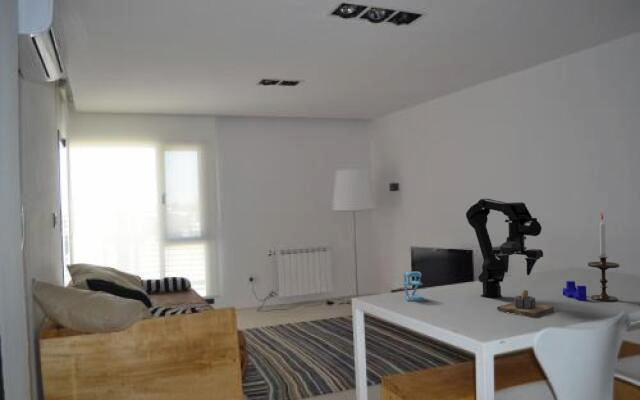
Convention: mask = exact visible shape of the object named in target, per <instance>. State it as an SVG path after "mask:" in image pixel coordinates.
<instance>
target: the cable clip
mask: <svg viewBox="0 0 640 400" xmlns="http://www.w3.org/2000/svg"><path fill="white" fill-rule="evenodd" d="M565 285H566V288H565V287H563V288H562V295H563V296H564V297H567V298H569V299H570V298H571V299H575V301H577V302H587V285H576V281H574V280H567V281H565Z"/></svg>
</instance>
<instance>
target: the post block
mask: <svg viewBox="0 0 640 400" xmlns="http://www.w3.org/2000/svg"><path fill="white" fill-rule="evenodd" d="M521 296H522V298H523V299H528V296H529V291H528V290H526V289H522V290H521ZM535 305H536V308H534V309H520V308H516V307H515V306H514V301H513V302H510V303H506V304H503V305H499V306H497V307H496V308H497V310H499V311H498V312H501V311H503V312H502V313H506V312H509V313H508V314H511V313H515V314H514V315H517V314H521V315H520V316H522V315H525V316H524V317H527V316H529V317H528V318H537V317H540V316H543V315H545V314H549V313H553V312H554V306H549V305H543V304H538V303H535Z"/></svg>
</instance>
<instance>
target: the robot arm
mask: <svg viewBox="0 0 640 400" xmlns="http://www.w3.org/2000/svg"><path fill="white" fill-rule="evenodd" d="M491 210H492V211H497V212H501V213H502V214H503V215H504V216H506V217H507V218H506V219H504V223H507V224H508V236H507V237H506V241H504V242H503V243H502V244H500V245H499V246H493V245H492V240H491V239H490V234H489V232H488V228H487V223H488V215H489V214H490V213H491ZM465 217H466V220H467V222H468V224H469V225H470V226H471V227H472V229H474V232H475V236H476V238H477V241H478V246H479V249H480V252H481V255H482V258H483V259H482V260H483V263H482V266H481V268H482V269H481V270H482V271H481V273H480V275H479V276H478V280H479V282H480V283H481V284H482V294H480V296H481V297H484V298H491V299H497V298H500V297H503V295H502V293H501V292H502V287H501V283H503V281H504V279H505V274H506V273H508V272H509V261H510V256H512V255H518V256H519V255H520V256H521V255H522V256H526V257H525V258H524V260H525V261H526V275H527V276H530V275H531V273H532V271H533V268H534V267H535V264H536V263H537V261H538V260H540V259H541V258H543V257H544V251H543V250H542V249H538V248H537V249H536V248H531V249H530V248H529V249H527V246H525V240H527V236H529V237H530V236H531V237H538V236H539V235H541V232H542V230H543V229H542V226H541V223H540V222H539V221H538V219H537V217H532V214H531V213H530V211H529V209H528V207H527V206H526V203H524V202H521V201H519V202H518V201H517V202H507V201H500V200H496V199H492V198H480V199H479V200H478V201H477V202H476V203H475V204H473V205H472V206H470V207H469V208H468V210H466V212H465Z"/></svg>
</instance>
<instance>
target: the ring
mask: <svg viewBox="0 0 640 400" xmlns="http://www.w3.org/2000/svg"><path fill="white" fill-rule="evenodd" d="M513 302H514V306H515V307H516V308H520V309H534V308H536V305H535V304H536V298H535V297H534V296H532V295H528V299H523V298H522V295H515V296H514V297H513Z"/></svg>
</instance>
